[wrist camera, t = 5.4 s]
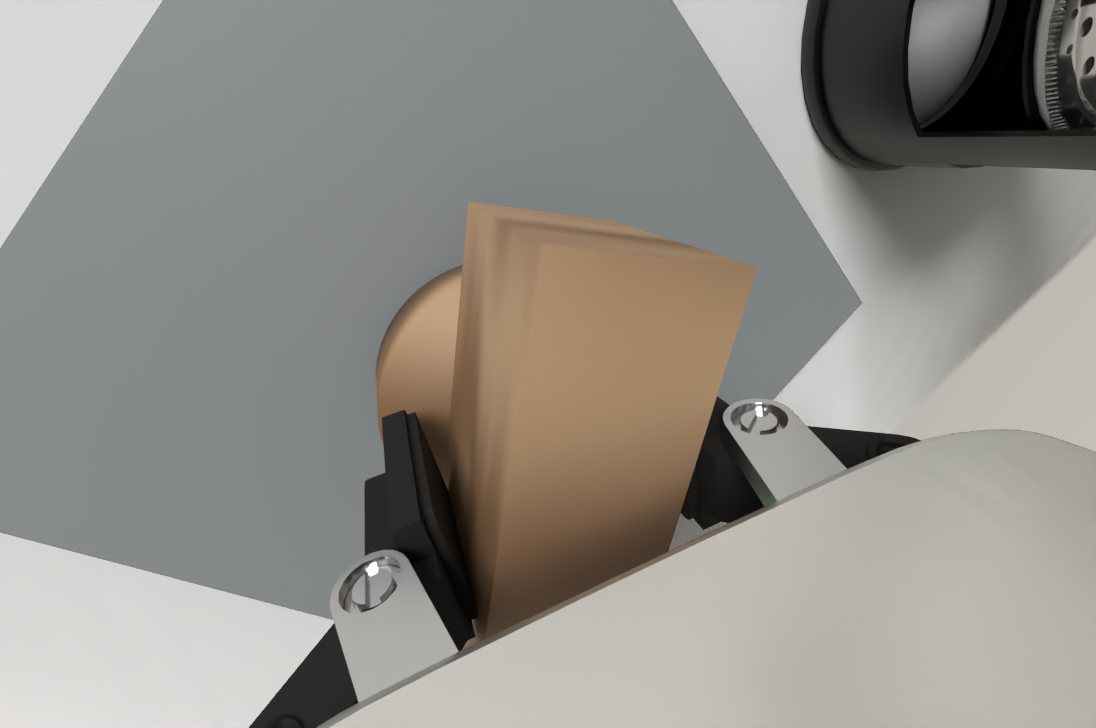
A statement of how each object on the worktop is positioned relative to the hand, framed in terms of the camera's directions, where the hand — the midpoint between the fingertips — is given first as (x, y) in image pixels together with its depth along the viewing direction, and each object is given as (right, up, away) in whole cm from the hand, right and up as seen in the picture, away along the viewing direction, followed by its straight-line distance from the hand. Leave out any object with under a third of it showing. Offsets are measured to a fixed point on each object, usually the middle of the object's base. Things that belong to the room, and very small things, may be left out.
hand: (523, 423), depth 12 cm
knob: (-1, -1, +3) cm, 4 cm away
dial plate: (-1, +2, +4) cm, 4 cm away
